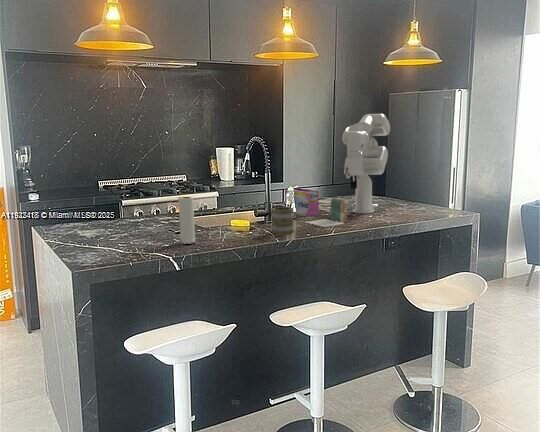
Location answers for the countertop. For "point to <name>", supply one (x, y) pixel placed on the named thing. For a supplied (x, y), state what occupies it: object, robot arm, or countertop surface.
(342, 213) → the sponge
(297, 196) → the gum box
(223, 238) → the countertop surface
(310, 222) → the mat
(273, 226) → the mug
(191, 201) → the paper towel roll
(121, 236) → the countertop surface
